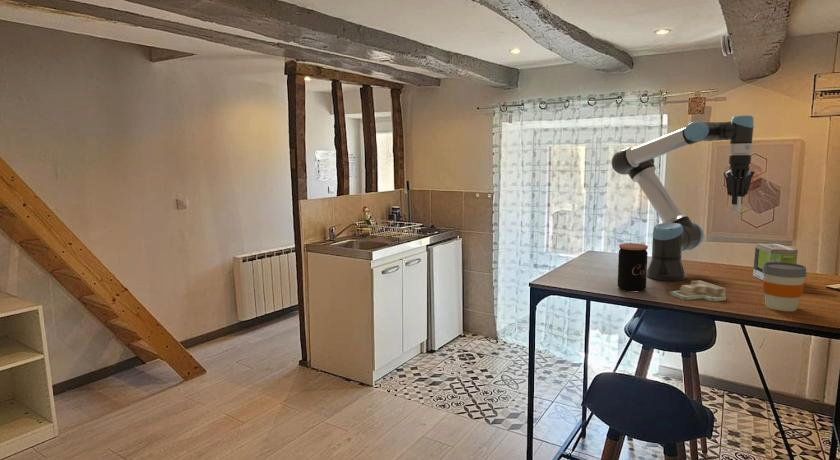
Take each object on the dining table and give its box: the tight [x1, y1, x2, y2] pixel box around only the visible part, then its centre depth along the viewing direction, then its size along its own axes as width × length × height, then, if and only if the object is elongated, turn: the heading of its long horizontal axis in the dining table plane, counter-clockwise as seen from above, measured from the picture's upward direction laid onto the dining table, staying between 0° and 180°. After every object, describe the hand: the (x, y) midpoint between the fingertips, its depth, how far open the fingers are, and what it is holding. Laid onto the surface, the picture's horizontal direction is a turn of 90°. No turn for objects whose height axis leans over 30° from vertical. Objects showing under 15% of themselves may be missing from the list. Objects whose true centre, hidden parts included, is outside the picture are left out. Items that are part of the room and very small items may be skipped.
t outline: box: [669, 286, 727, 303], centre depth 195 cm, size 14×17×1 cm
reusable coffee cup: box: [761, 262, 807, 312], centre depth 177 cm, size 13×13×15 cm
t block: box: [681, 279, 727, 297], centre depth 195 cm, size 12×13×4 cm
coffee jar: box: [617, 242, 649, 292], centre depth 205 cm, size 11×11×18 cm
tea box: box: [752, 243, 798, 281], centre depth 214 cm, size 15×10×15 cm, turn 168°
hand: (736, 212), depth 210 cm, fingers closed
